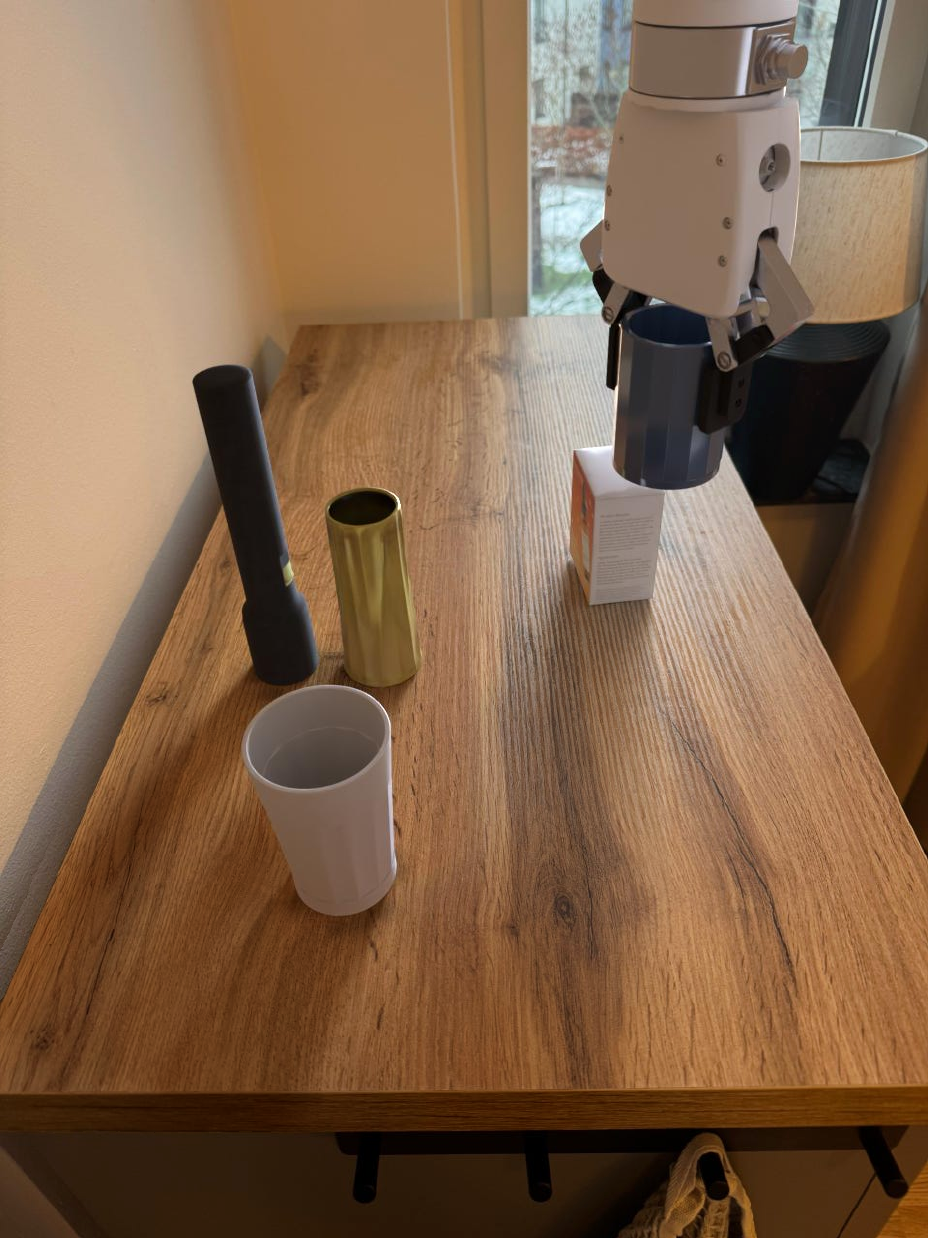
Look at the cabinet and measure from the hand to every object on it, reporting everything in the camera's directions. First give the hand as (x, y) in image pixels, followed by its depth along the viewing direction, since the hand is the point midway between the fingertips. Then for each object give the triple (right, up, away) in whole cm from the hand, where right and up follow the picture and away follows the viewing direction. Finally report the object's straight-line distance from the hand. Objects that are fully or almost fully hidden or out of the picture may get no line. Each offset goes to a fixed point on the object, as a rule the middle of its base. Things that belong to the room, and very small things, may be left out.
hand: (671, 401), depth 55 cm
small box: (0, -10, +24) cm, 25 cm away
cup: (-20, -29, +1) cm, 35 cm away
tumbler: (0, -3, +3) cm, 4 cm away
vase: (-19, -17, +16) cm, 30 cm away
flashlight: (-26, -17, +17) cm, 36 cm away
